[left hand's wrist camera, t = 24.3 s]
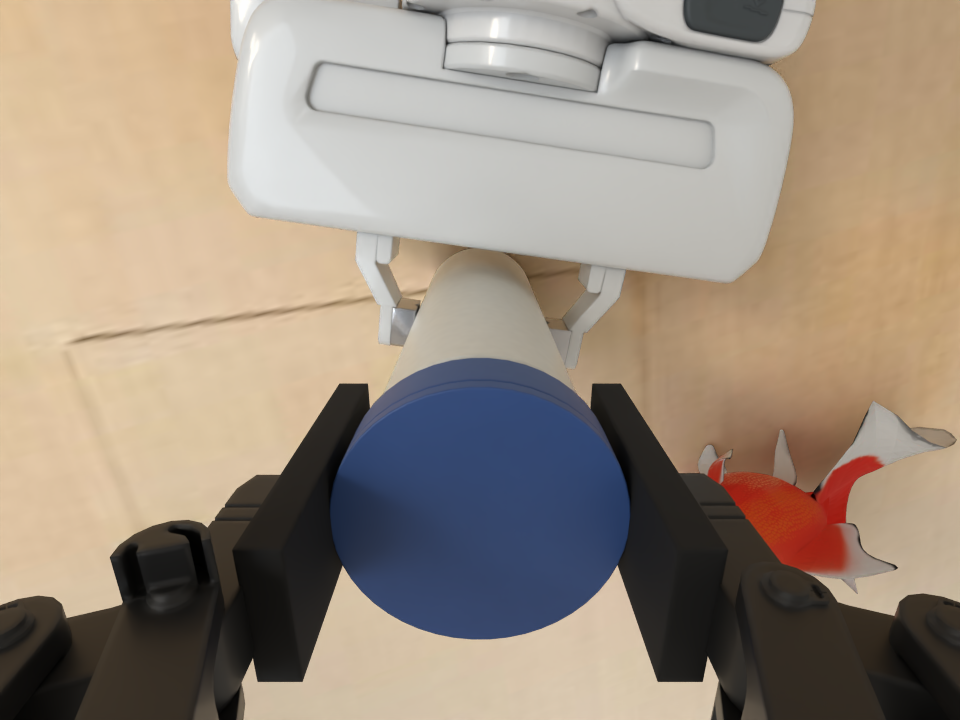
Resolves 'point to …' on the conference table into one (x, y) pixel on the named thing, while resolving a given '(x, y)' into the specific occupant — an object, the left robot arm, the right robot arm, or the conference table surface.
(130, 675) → the left robot arm
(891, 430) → the fish
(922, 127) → the conference table surface
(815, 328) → the conference table surface
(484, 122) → the right robot arm
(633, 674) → the conference table surface
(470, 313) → the jar
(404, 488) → the lid
